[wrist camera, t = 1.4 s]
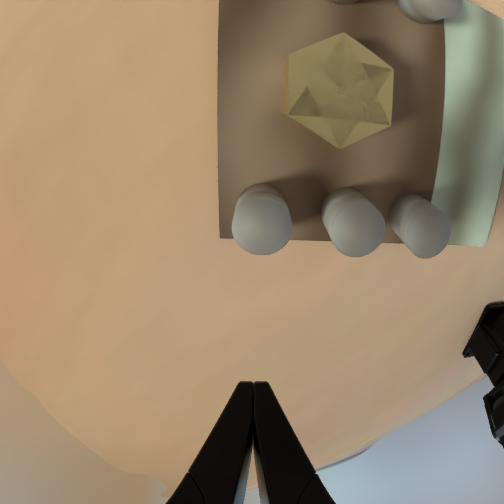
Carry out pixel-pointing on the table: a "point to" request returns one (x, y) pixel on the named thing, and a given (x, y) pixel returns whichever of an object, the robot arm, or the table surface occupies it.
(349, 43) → the hexagonal box
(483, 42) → the board
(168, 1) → the table surface
